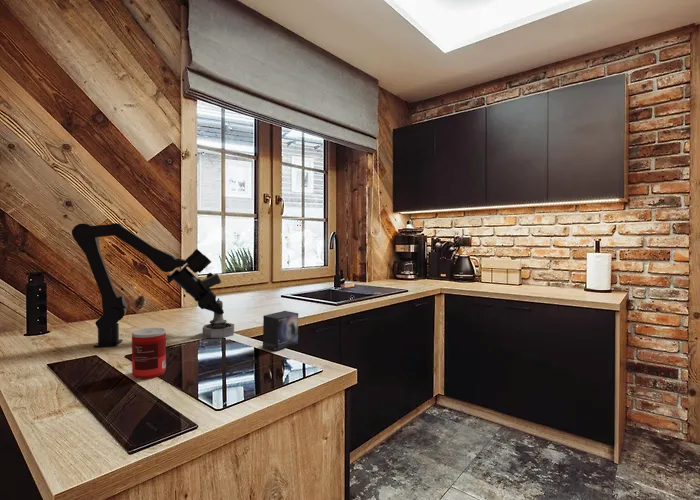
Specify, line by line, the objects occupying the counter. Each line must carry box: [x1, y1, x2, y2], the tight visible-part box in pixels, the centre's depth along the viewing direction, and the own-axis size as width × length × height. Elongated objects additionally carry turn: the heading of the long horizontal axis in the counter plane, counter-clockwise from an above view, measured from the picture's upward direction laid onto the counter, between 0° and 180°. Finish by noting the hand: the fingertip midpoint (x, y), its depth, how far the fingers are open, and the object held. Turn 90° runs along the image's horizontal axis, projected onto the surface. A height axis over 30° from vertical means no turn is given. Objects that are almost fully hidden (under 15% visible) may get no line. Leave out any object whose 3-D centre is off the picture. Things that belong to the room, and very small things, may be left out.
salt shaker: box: [209, 297, 228, 329], centre depth 137 cm, size 6×6×12 cm
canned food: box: [131, 327, 167, 380], centre depth 97 cm, size 8×8×11 cm
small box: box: [262, 310, 299, 352], centre depth 123 cm, size 11×6×10 cm, turn 149°
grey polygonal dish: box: [202, 322, 235, 339], centre depth 137 cm, size 10×10×3 cm
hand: (222, 312), depth 137 cm, fingers closed on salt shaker, 4 cm apart
